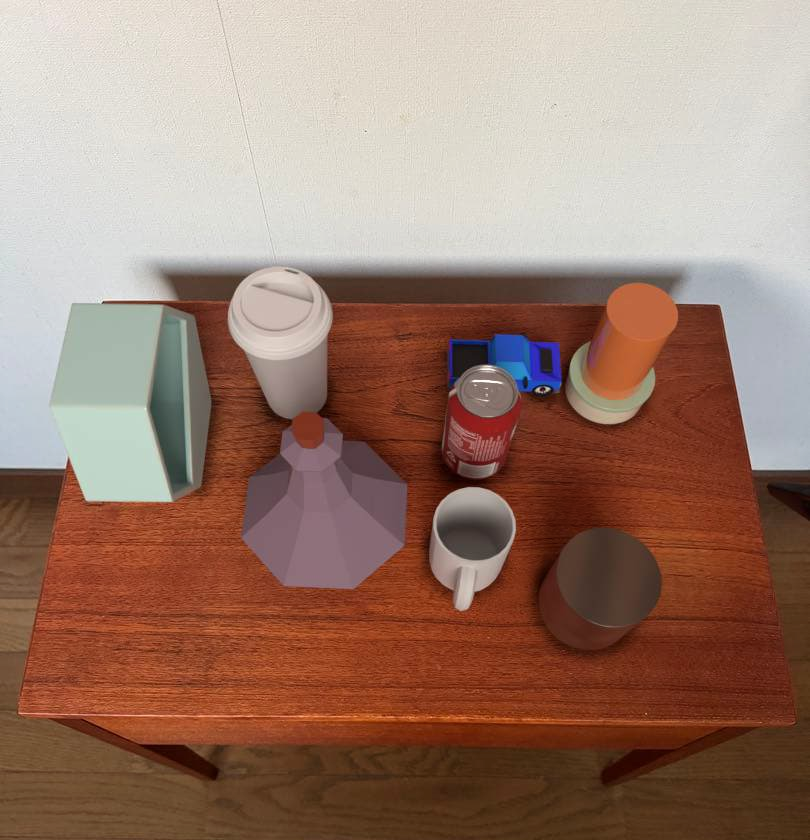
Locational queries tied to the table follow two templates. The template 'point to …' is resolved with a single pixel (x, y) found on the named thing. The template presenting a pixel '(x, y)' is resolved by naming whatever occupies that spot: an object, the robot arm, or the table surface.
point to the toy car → (509, 361)
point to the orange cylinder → (628, 340)
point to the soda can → (480, 421)
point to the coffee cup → (284, 337)
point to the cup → (470, 541)
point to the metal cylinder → (599, 588)
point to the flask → (324, 508)
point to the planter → (132, 402)
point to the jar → (596, 405)
